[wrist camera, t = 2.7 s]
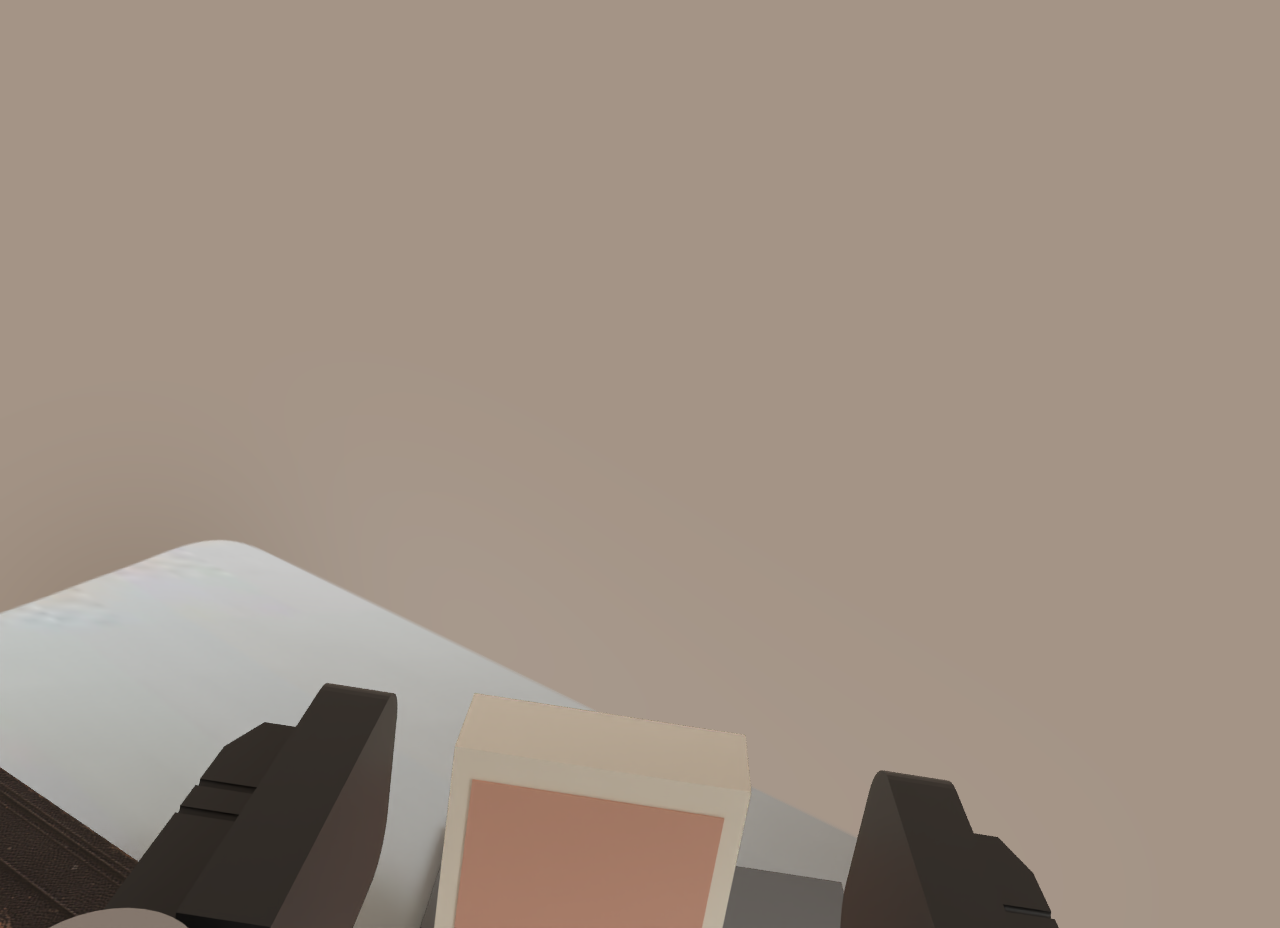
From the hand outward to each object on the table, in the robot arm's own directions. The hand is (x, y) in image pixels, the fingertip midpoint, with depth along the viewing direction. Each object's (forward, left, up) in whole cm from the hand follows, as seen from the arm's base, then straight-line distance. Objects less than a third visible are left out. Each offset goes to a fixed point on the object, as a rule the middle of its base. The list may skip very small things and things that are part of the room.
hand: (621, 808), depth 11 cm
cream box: (0, -13, -19) cm, 24 cm away
